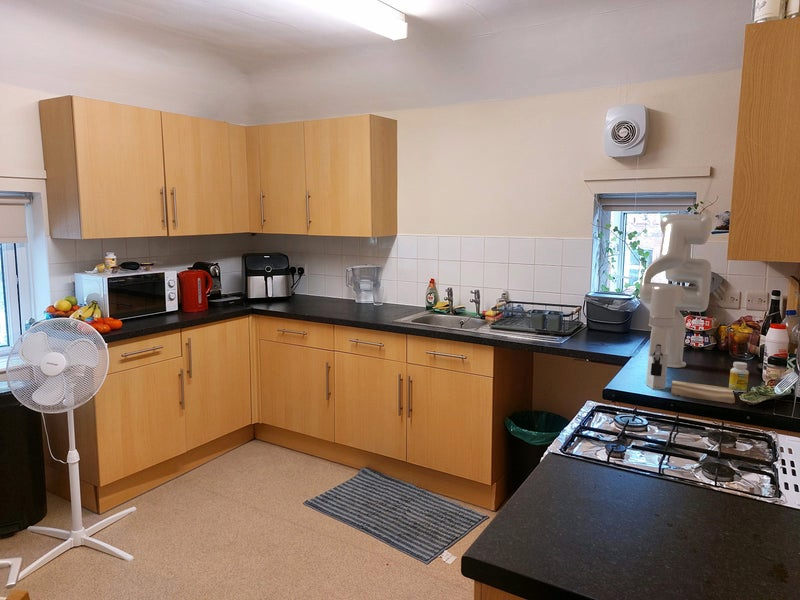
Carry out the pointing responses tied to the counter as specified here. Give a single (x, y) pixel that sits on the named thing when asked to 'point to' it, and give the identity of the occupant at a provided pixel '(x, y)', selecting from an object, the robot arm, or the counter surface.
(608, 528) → the counter surface
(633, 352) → the counter surface
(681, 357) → the robot arm
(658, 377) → the skincare box
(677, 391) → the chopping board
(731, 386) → the supplement bottle
